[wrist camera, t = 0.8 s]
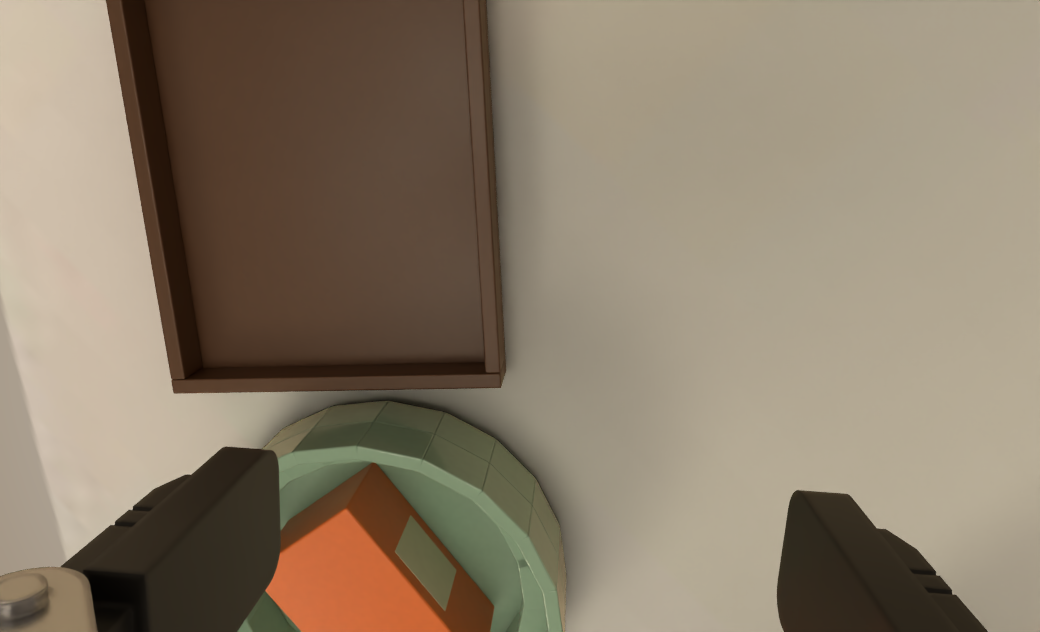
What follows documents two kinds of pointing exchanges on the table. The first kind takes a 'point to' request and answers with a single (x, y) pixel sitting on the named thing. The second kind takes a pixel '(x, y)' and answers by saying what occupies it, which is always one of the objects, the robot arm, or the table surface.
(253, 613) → the bowl
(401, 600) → the block
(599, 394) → the table surface
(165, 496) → the robot arm
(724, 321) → the table surface
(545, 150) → the table surface
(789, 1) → the table surface
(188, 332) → the tray
